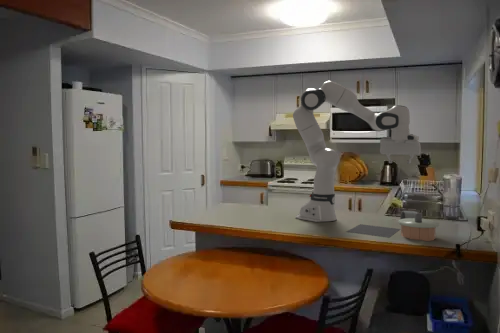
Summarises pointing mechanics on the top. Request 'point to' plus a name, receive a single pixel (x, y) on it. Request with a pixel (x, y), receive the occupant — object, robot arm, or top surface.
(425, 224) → the lid
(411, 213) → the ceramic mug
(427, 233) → the bowl
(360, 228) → the mat
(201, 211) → the top surface
